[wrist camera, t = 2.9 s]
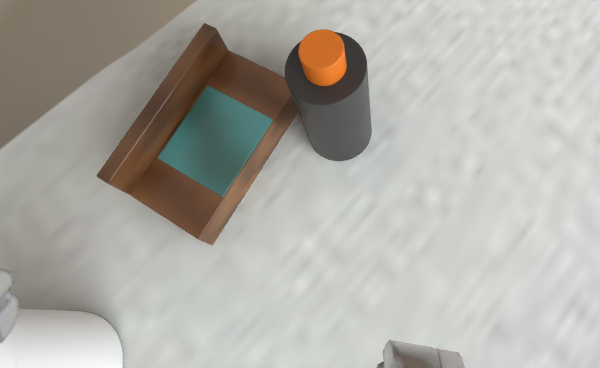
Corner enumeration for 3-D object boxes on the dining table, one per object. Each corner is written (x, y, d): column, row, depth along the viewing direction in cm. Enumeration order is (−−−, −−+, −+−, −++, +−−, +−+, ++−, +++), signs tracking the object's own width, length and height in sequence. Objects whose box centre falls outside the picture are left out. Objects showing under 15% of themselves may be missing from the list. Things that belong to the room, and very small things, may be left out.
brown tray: (229, 63, 41) (204, 22, 35) (304, 101, 39) (291, 63, 33) (137, 197, 39) (95, 176, 33) (212, 245, 37) (180, 231, 31)
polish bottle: (329, 94, 39) (306, -2, 27) (382, 119, 37) (382, 30, 26) (298, 143, 38) (260, 66, 26) (351, 171, 36) (336, 103, 25)
